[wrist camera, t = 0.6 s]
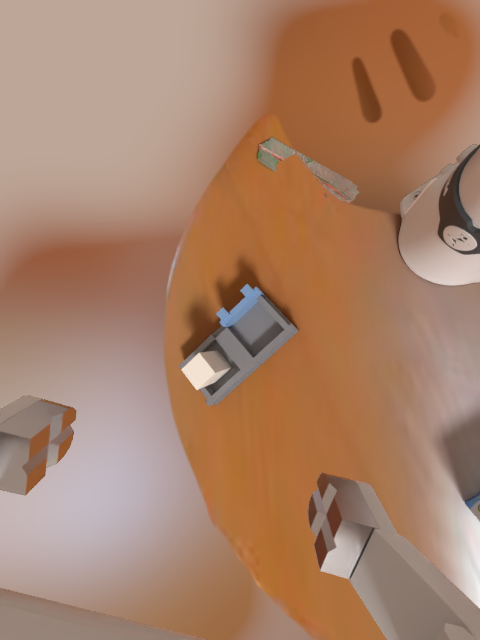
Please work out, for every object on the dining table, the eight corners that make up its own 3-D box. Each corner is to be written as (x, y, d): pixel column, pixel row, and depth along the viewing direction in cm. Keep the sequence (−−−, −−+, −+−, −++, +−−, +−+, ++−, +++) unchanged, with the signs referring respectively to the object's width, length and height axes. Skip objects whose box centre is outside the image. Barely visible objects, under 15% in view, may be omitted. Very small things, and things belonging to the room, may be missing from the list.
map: (267, 137, 48) (267, 133, 47) (363, 187, 43) (364, 184, 42) (251, 160, 49) (250, 156, 48) (343, 212, 43) (344, 210, 43)
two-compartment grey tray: (258, 287, 46) (250, 280, 41) (298, 330, 44) (296, 329, 38) (183, 360, 49) (166, 362, 44) (217, 404, 47) (203, 413, 41)
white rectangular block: (218, 350, 46) (199, 352, 39) (232, 367, 46) (215, 372, 38) (203, 364, 47) (181, 369, 39) (216, 381, 46) (196, 390, 38)
